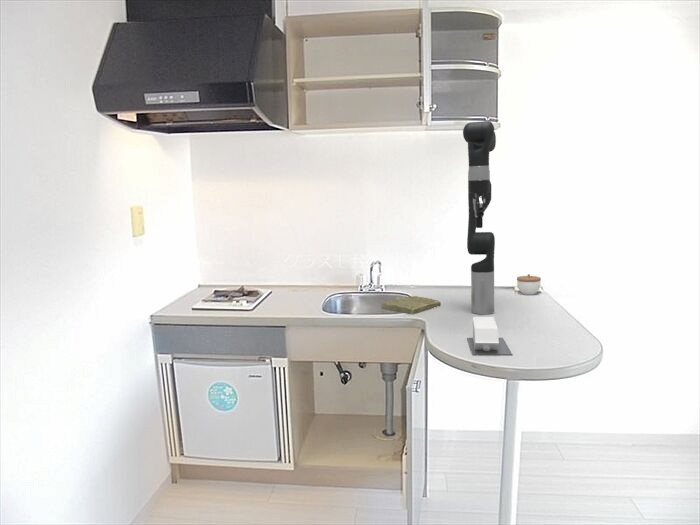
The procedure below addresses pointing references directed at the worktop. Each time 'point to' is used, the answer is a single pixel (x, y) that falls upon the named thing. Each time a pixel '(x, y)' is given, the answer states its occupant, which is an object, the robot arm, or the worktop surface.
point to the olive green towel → (410, 304)
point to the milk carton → (485, 333)
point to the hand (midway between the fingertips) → (479, 227)
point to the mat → (501, 350)
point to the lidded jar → (528, 284)
